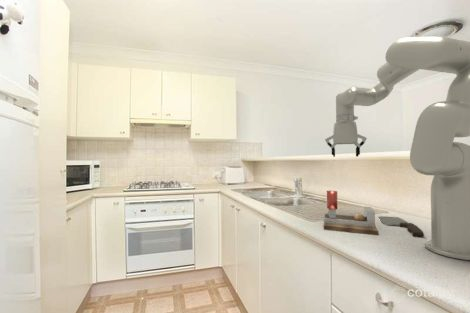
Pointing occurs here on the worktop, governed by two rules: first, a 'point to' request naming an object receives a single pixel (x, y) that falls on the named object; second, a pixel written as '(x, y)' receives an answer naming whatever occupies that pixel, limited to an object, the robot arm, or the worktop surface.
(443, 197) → the robot arm
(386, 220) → the cleaver
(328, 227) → the press base
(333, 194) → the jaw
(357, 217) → the walnut
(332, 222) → the press frame
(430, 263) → the worktop surface
